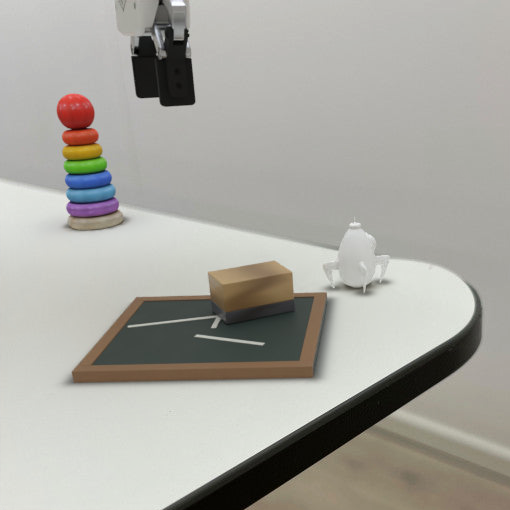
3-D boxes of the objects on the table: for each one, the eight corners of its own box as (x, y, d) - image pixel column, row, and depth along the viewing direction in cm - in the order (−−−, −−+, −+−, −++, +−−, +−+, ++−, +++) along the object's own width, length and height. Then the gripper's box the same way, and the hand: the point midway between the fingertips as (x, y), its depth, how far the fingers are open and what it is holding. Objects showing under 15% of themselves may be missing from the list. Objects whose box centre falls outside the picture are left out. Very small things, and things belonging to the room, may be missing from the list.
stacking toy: (135, 221, 116) (114, 91, 109) (98, 234, 110) (74, 96, 102) (95, 217, 120) (72, 91, 112) (57, 230, 113) (30, 96, 105)
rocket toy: (390, 284, 85) (389, 213, 82) (367, 299, 81) (365, 225, 77) (348, 277, 87) (345, 208, 84) (323, 292, 83) (319, 220, 80)
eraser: (226, 324, 72) (222, 284, 70) (211, 310, 75) (207, 271, 74) (295, 310, 75) (292, 271, 73) (277, 297, 78) (274, 260, 77)
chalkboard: (74, 385, 64) (71, 371, 63) (138, 308, 81) (136, 296, 80) (313, 380, 63) (312, 366, 63) (327, 303, 80) (326, 291, 79)
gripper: (81, -93, 73) (108, 96, 80) (118, -122, 59) (146, 112, 66) (160, -89, 76) (179, 93, 83) (212, -116, 62) (230, 106, 69)
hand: (164, 101), depth 74 cm, fingers open, 9 cm apart
